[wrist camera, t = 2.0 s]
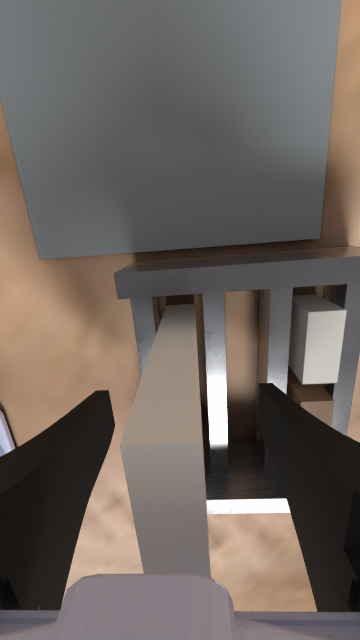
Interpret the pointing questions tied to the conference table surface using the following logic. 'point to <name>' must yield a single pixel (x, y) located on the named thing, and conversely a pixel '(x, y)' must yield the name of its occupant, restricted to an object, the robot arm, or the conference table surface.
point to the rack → (273, 349)
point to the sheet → (169, 453)
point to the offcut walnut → (311, 398)
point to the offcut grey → (316, 339)
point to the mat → (168, 120)
